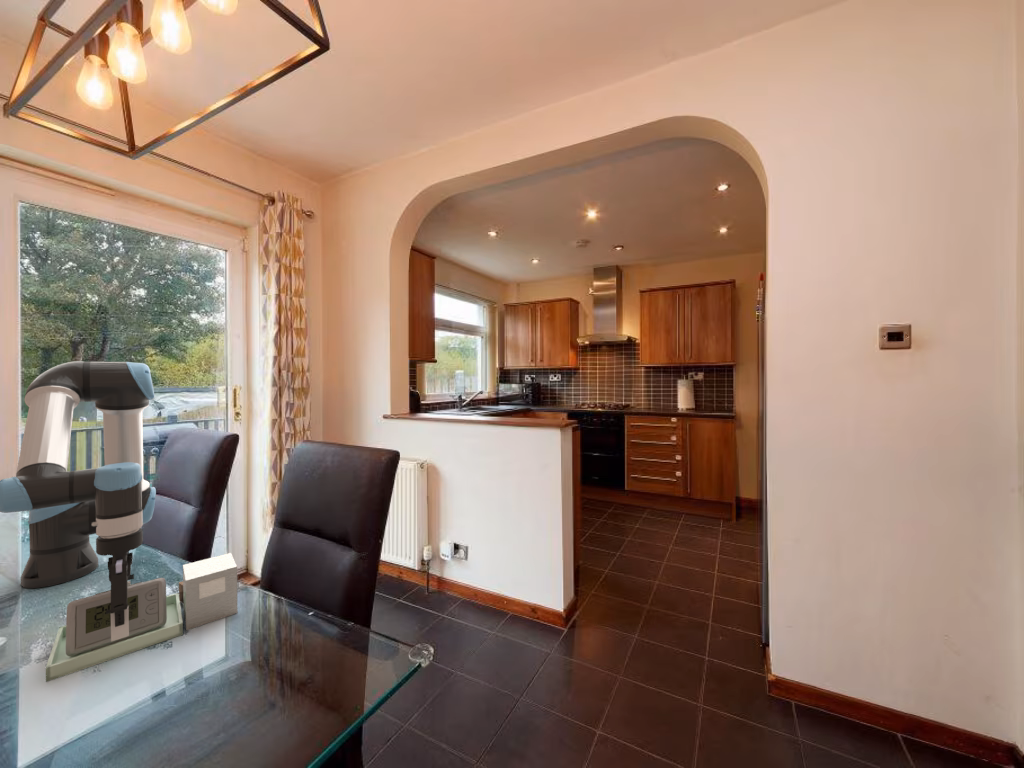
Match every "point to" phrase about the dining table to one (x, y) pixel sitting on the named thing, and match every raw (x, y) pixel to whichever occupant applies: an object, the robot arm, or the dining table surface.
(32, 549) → the robot arm
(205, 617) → the light grey labelled box
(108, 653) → the tray
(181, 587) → the walnut block
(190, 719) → the dining table surface
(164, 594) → the digital clock
